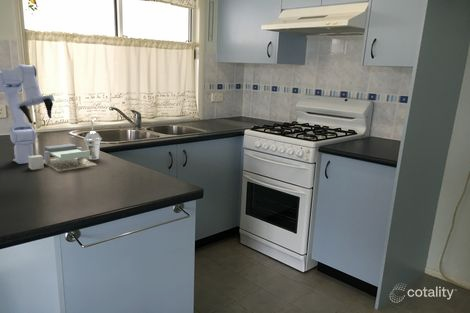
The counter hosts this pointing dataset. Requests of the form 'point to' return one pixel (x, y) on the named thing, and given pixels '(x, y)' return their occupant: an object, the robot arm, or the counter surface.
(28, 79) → the robot arm
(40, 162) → the white rectangular block
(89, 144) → the cup with straw
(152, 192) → the counter surface
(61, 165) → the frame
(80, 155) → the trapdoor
